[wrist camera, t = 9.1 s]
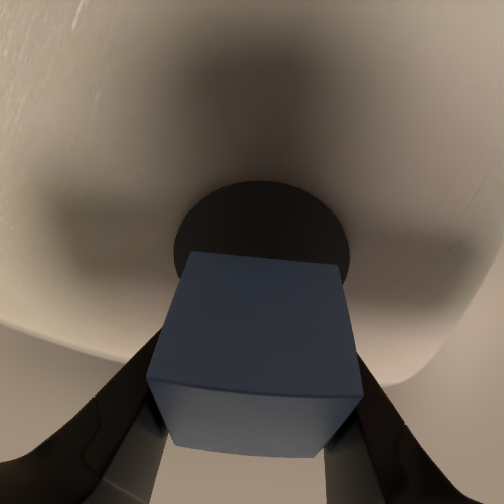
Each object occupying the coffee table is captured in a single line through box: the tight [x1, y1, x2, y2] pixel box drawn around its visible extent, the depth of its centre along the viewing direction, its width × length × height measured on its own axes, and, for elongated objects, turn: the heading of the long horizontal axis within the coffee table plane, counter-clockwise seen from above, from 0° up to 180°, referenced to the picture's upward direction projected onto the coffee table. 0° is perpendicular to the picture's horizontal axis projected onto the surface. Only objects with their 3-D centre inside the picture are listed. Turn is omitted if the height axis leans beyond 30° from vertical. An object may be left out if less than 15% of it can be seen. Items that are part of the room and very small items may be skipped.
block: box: [146, 251, 364, 458], centre depth 8 cm, size 4×4×4 cm
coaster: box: [174, 180, 350, 285], centre depth 11 cm, size 6×6×1 cm
